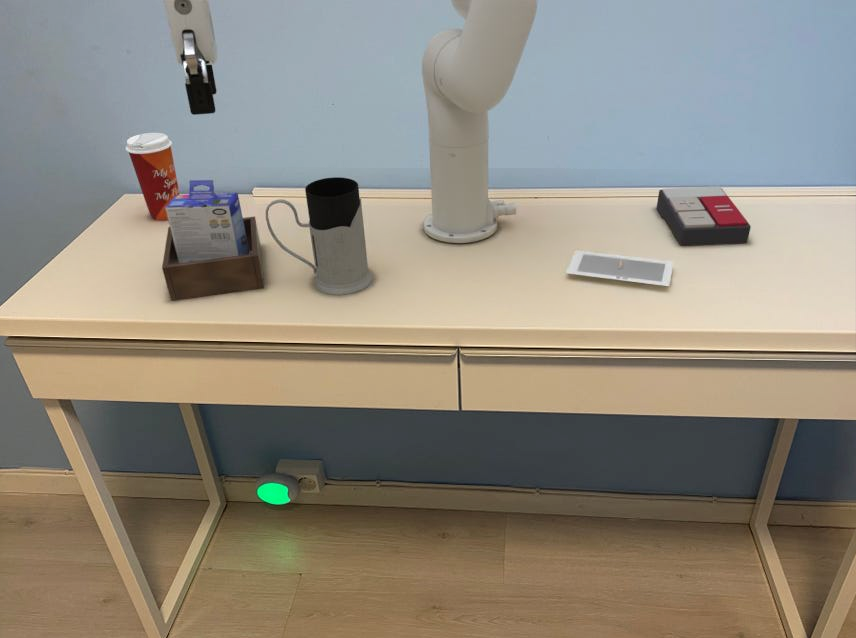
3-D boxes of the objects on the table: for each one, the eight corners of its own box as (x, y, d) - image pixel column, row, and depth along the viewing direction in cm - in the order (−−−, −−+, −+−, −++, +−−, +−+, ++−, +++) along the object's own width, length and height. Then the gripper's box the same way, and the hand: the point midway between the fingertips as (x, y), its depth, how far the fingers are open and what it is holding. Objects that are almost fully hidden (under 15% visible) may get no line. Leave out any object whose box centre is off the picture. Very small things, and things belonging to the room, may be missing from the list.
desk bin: (260, 246, 125) (255, 216, 122) (264, 288, 113) (257, 255, 110) (176, 257, 123) (168, 226, 119) (171, 300, 111) (161, 267, 108)
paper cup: (175, 224, 134) (155, 146, 126) (136, 221, 135) (114, 145, 127) (196, 206, 140) (178, 132, 132) (158, 204, 141) (139, 130, 133)
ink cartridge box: (253, 263, 120) (236, 176, 112) (245, 280, 116) (227, 190, 107) (192, 264, 120) (171, 178, 112) (182, 281, 116) (158, 192, 108)
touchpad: (575, 256, 119) (576, 244, 118) (672, 268, 115) (674, 255, 113) (565, 279, 113) (566, 266, 111) (668, 292, 109) (670, 279, 107)
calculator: (684, 225, 118) (659, 185, 130) (679, 249, 121) (655, 207, 133) (753, 222, 119) (721, 182, 130) (747, 246, 121) (717, 205, 133)
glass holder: (374, 291, 111) (364, 196, 103) (277, 301, 110) (259, 205, 101) (370, 264, 118) (360, 173, 110) (279, 273, 117) (262, 181, 108)
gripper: (207, -27, 89) (232, 119, 98) (210, -43, 103) (232, 86, 112) (141, -24, 87) (172, 123, 97) (153, -41, 101) (180, 89, 111)
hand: (204, 103), depth 105 cm, fingers open, 9 cm apart
